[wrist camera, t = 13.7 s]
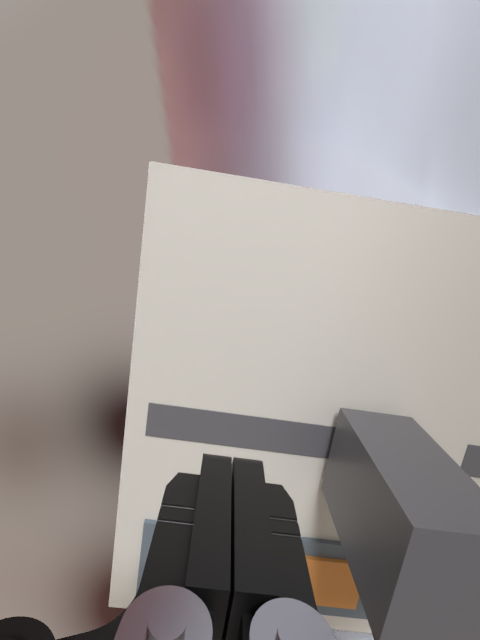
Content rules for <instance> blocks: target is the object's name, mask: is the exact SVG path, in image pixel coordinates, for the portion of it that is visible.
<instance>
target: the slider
mask: <svg viewBox="0 0 480 640" xmlns="http://www.w3.org/2000/svg"><path fill="white" fill-rule="evenodd" d="M322 491H323V494H324V496H325V499H326V502H327V505H328V508H329V511H330V514H331V517H332V519H333V522H334V525H335V528H336V531H337V534H338V537H339V540H340V542H341V545H342V548H343V551H344V554H345V557H346V560H347V563H348V565H349V568H350V571H351V574H352V577H353V580H354V583H355V585H356V588H357V591H358V594H359V597H360V600H361V603H362V606H363V608H364V611H365V614H366V617H367V620H368V623H369V626H370V629H371V631H372V634H373V637H374V640H480V487H479V486H478V485H477V484H476V483H475V482H474V481H473V480H472V478H471V477H470V476H469V475H468V474H467V473H466V472H465V471H464V470H463V469H462V468H461V467H460V466H459V465H458V464H457V463H456V462H455V461H454V460H453V459H452V458H451V457H450V456H449V455H448V454H447V453H446V452H445V451H444V450H443V449H442V448H441V447H440V446H439V445H438V444H437V442H436V441H435V440H434V439H433V438H432V437H431V436H430V435H429V434H428V433H427V432H426V431H425V430H424V429H423V428H422V427H421V426H420V425H419V424H418V423H417V422H416V421H415V420H414V419H413V418H412V417H407V416H399V415H392V414H384V413H377V412H369V411H362V410H354V409H347V408H340V410H339V415H338V419H337V423H336V428H335V432H334V436H333V441H332V445H331V449H330V453H329V458H328V462H327V466H326V471H325V475H324V479H323V483H322Z"/></svg>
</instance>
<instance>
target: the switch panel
mask: <svg viewBox="0 0 480 640" xmlns="http://www.w3.org/2000/svg"><path fill="white" fill-rule="evenodd" d="M340 408H347V409H354V410H362V411H369V412H377V413H384V414H392V415H399V416H407V417H412V418H413V419H414V420H415V421H416V422H417V423H418V424H419V425H420V426H421V427H422V428H423V429H424V430H425V431H426V432H427V433H428V434H429V435H430V436H431V437H432V438H433V439H434V440H435V441H436V442H437V444H438V445H439V446H440V447H441V448H442V449H443V450H444V451H445V452H446V453H447V454H448V455H449V456H450V457H451V458H452V459H453V460H454V461H455V462H456V463H457V464H458V465H459V466H460V467H461V468H462V469H463V470H464V471H465V472H466V473H467V474H468V475H469V476H470V477H471V478H472V480H473V481H474V482H475V483H476V484H477V485H478V486H479V487H480V216H477V215H471V214H465V213H459V212H453V211H447V210H441V209H435V208H429V207H423V206H417V205H411V204H405V203H399V202H393V201H387V200H381V199H375V198H369V197H363V196H357V195H351V194H345V193H339V192H333V191H327V190H321V189H315V188H309V187H303V186H297V185H291V184H285V183H279V182H273V181H267V180H261V179H254V178H248V177H242V176H236V175H230V174H224V173H218V172H212V171H206V170H200V169H194V168H188V167H182V166H176V165H170V164H164V163H158V162H152V161H149V172H148V183H147V194H146V205H145V216H144V227H143V237H142V248H141V259H140V270H139V281H138V292H137V303H136V313H135V324H134V335H133V346H132V357H131V369H130V380H129V390H128V400H127V412H126V422H125V433H124V444H123V455H122V466H121V477H120V488H119V498H118V509H117V520H116V532H115V542H114V554H113V564H112V574H111V575H112V576H111V585H110V596H109V607H117V608H127V607H128V606H129V605H130V603H131V602H132V601H133V599H134V597H135V595H136V593H137V591H138V588H139V586H140V582H141V578H142V575H143V571H144V567H145V563H146V559H147V556H148V552H149V548H150V544H151V541H152V537H153V533H154V529H155V526H156V522H157V518H158V514H159V511H160V507H161V503H162V499H163V495H164V492H165V488H166V485H167V484H168V483H169V482H170V481H171V480H172V479H173V478H174V477H175V476H176V474H177V473H178V472H181V473H189V474H197V475H200V471H201V465H202V458H203V453H204V454H212V455H220V456H228V457H232V461H233V458H234V457H237V458H245V459H253V460H260V461H262V462H263V467H264V475H265V483H271V484H279V485H282V486H283V487H284V489H285V490H286V491H287V493H288V494H289V496H290V497H291V498H292V500H293V501H294V506H295V511H296V515H297V523H298V524H299V529H300V534H301V539H302V543H303V547H304V552H305V556H306V561H307V566H308V570H309V575H310V579H311V584H312V589H313V593H314V598H315V602H316V606H317V609H318V612H319V613H320V614H321V615H322V617H323V618H324V619H325V620H326V621H327V622H328V624H329V625H330V627H331V628H332V629H333V630H343V631H353V632H363V633H372V631H371V629H370V626H369V623H368V620H367V617H366V614H365V611H364V608H363V606H362V603H361V600H360V597H359V594H358V591H357V588H356V585H355V583H354V580H353V577H352V574H351V571H350V568H349V565H348V563H347V560H346V557H345V554H344V551H343V548H342V545H341V542H340V540H339V537H338V534H337V531H336V528H335V525H334V522H333V519H332V517H331V514H330V511H329V508H328V505H327V502H326V499H325V496H324V494H323V491H322V483H323V479H324V475H325V471H326V466H327V462H328V458H329V453H330V449H331V445H332V441H333V436H334V432H335V428H336V423H337V419H338V415H339V410H340Z"/></svg>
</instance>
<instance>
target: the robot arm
mask: <svg viewBox="0 0 480 640" xmlns="http://www.w3.org/2000/svg"><path fill="white" fill-rule="evenodd" d="M0 640H55V638H54V636H53V634H52V632H51V630H50V629H49V628H48V627H47V626H46V625H45V624H44V623H42V622H41V621H39V620H37V619H34V618H30V617H11V618H5V619H2V620H0ZM57 640H337V639H336V636H335V634H334V632H333V630H332V628H331V627H330V625H329V624H328V622H327V621H326V620H325V619H324V618H323V617H322V615H321V614H320V613H319V612H318V609H317V606H316V602H315V598H314V593H313V589H312V584H311V579H310V575H309V570H308V566H307V561H306V556H305V552H304V547H303V543H302V539H301V534H300V529H299V524H298V523H297V515H296V511H295V506H294V501H293V500H292V498H291V497H290V496H289V494H288V493H287V491H286V490H285V489H284V487H283V486H282V485H279V484H271V483H265V475H264V467H263V462H262V461H260V460H253V459H245V458H237V457H234V458H233V461H232V457H228V456H220V455H212V454H204V453H203V458H202V465H201V471H200V475H197V474H189V473H181V472H178V473H177V474H176V476H175V477H174V478H173V479H172V480H171V481H170V482H169V483H168V484H167V485H166V488H165V492H164V495H163V499H162V503H161V507H160V511H159V514H158V518H157V522H156V526H155V529H154V533H153V537H152V541H151V544H150V548H149V552H148V556H147V559H146V563H145V567H144V571H143V575H142V578H141V582H140V586H139V588H138V591H137V593H136V595H135V597H134V599H133V601H132V602H131V603H130V605H129V606H128V607H127V608H126V609H125V611H124V612H123V613H122V614H120V615H119V616H118V617H117V618H116V619H114V620H113V621H111V622H110V623H108V624H107V625H104V626H102V627H100V628H98V629H95V630H92V631H89V632H85V633H81V634H78V635H73V636H69V637H65V638H61V639H57Z"/></svg>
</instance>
